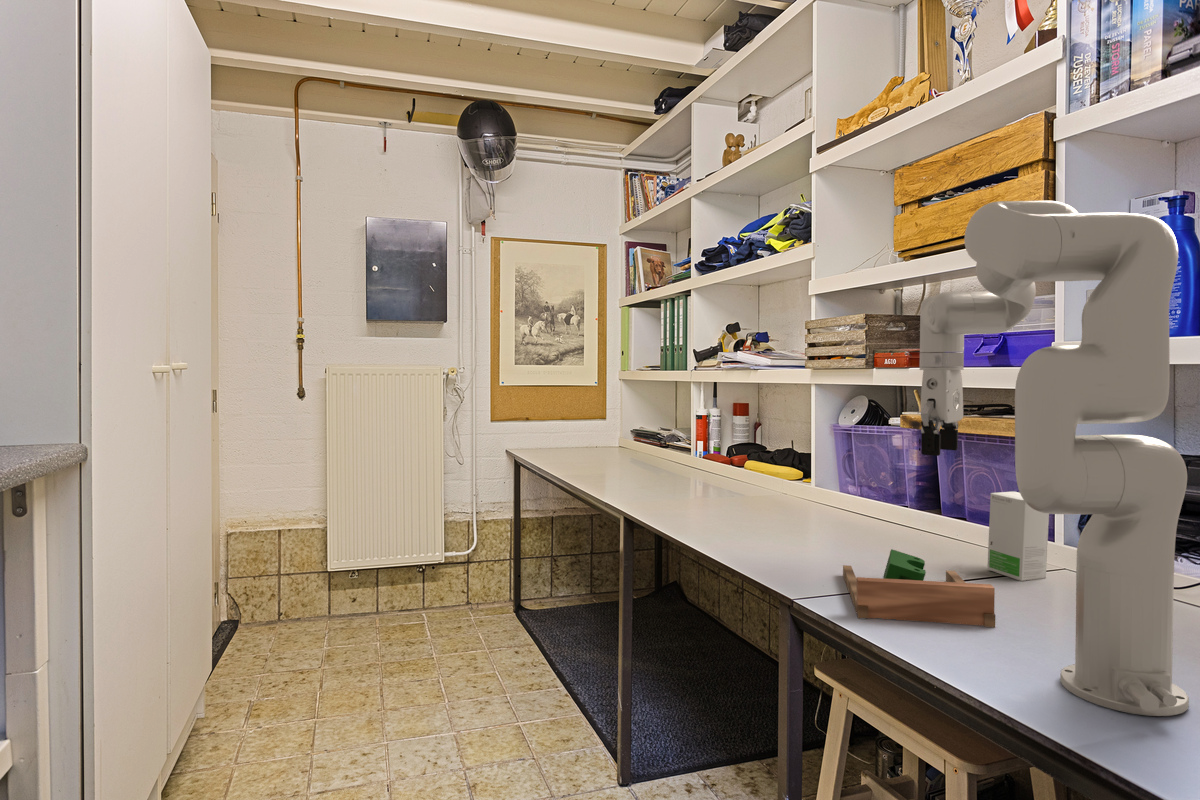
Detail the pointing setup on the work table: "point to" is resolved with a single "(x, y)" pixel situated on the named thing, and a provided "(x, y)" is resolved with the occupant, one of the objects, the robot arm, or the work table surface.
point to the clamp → (904, 567)
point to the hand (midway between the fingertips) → (939, 452)
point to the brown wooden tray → (922, 599)
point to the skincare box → (1017, 538)
